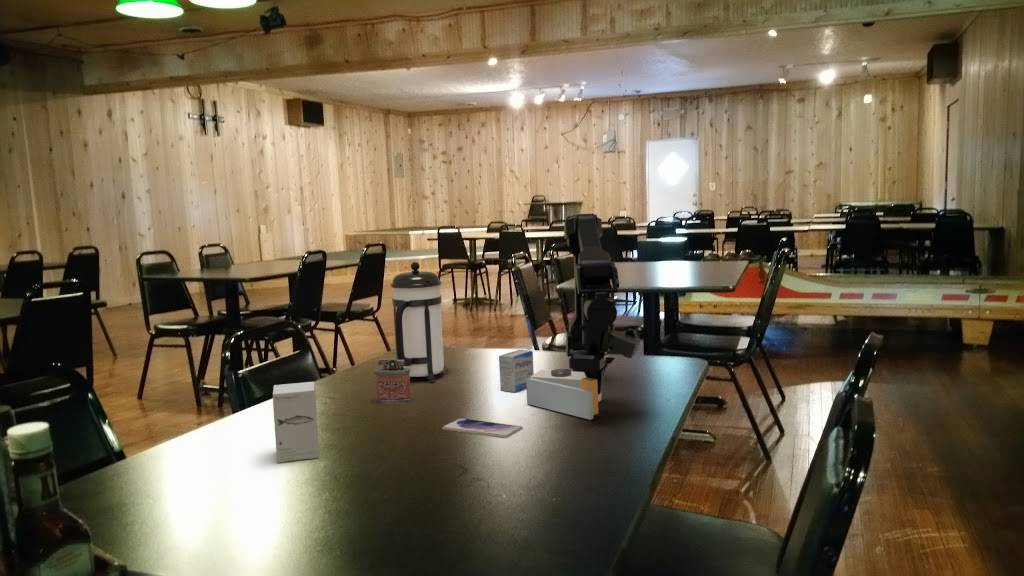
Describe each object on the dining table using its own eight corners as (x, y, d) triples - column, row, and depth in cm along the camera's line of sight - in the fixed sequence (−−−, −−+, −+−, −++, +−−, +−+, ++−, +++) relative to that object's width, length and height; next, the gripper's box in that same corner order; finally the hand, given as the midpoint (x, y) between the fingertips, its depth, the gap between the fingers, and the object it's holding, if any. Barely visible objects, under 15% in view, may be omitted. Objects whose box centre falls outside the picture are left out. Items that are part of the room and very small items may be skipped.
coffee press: (381, 376, 191) (374, 262, 188) (439, 368, 198) (433, 258, 194) (400, 390, 175) (392, 266, 172) (461, 381, 182) (456, 262, 179)
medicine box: (515, 393, 169) (513, 356, 168) (499, 390, 171) (498, 354, 170) (534, 385, 175) (533, 350, 174) (519, 383, 178) (518, 348, 177)
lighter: (413, 399, 167) (410, 356, 166) (409, 403, 163) (407, 359, 162) (379, 400, 168) (376, 357, 166) (374, 404, 164) (372, 360, 163)
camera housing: (541, 395, 165) (540, 366, 165) (601, 399, 160) (600, 369, 159) (530, 403, 159) (529, 373, 158) (592, 408, 154) (591, 376, 153)
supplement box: (276, 464, 127) (270, 393, 126) (278, 451, 134) (272, 384, 133) (319, 458, 129) (314, 389, 128) (319, 446, 136) (314, 380, 135)
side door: (534, 401, 160) (533, 366, 159) (598, 416, 146) (597, 379, 145) (526, 403, 158) (524, 368, 157) (590, 419, 145) (588, 381, 144)
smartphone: (460, 417, 150) (524, 426, 142) (460, 421, 150) (524, 430, 142) (440, 426, 143) (505, 436, 136) (440, 431, 143) (506, 440, 136)
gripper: (624, 329, 136) (625, 410, 138) (645, 312, 153) (646, 384, 155) (567, 327, 140) (569, 405, 142) (594, 311, 157) (595, 381, 159)
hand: (597, 393), depth 149 cm, fingers closed
